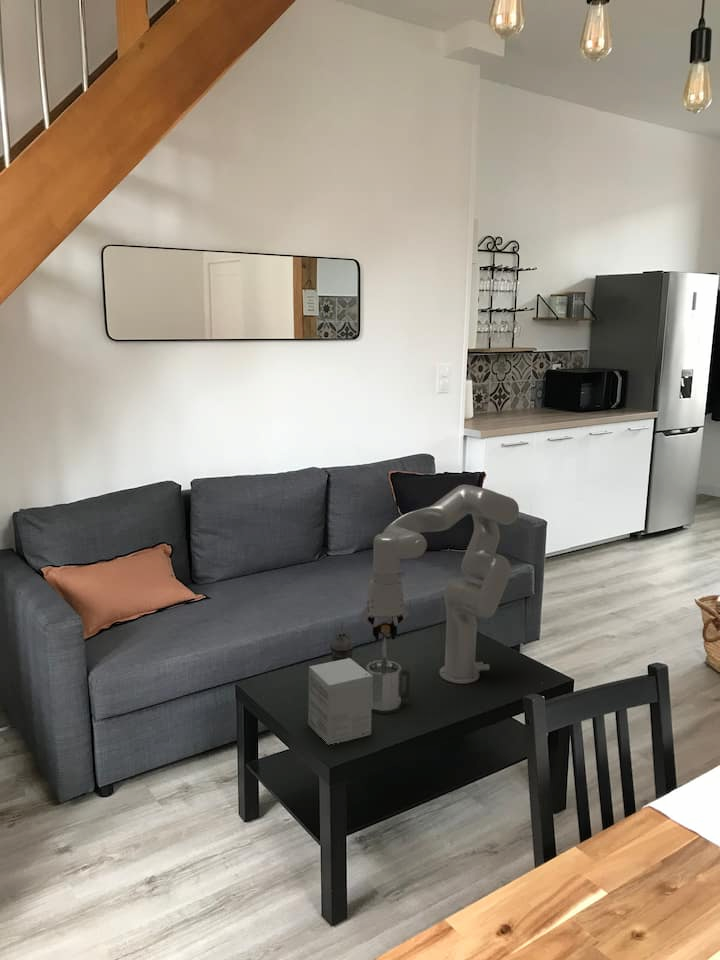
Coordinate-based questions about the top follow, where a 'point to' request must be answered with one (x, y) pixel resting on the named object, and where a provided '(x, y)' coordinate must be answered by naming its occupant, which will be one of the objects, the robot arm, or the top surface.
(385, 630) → the plunger
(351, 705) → the supplement box
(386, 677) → the carafe
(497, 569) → the robot arm
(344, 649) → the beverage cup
